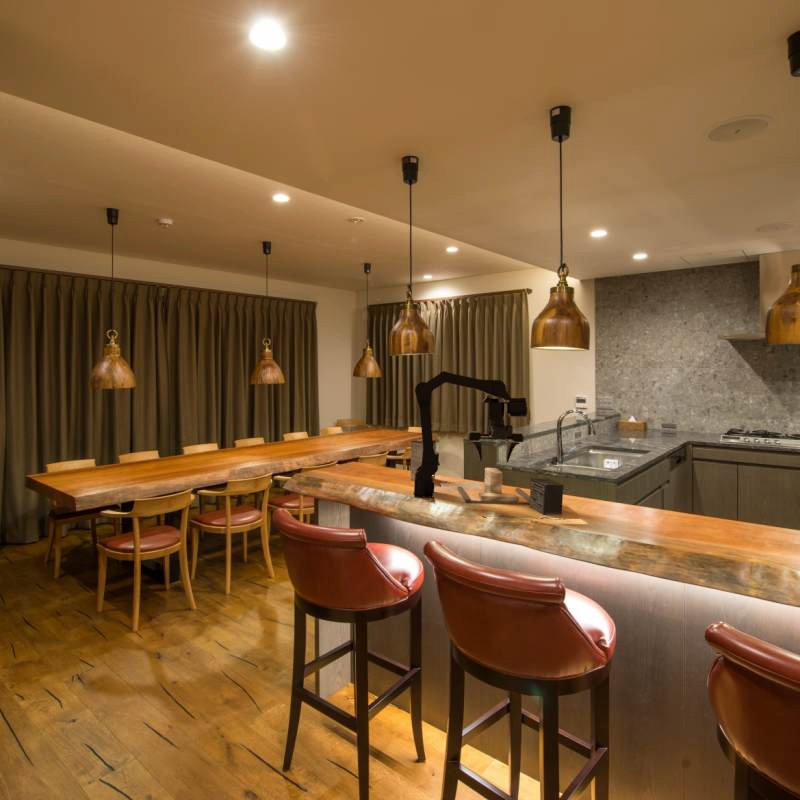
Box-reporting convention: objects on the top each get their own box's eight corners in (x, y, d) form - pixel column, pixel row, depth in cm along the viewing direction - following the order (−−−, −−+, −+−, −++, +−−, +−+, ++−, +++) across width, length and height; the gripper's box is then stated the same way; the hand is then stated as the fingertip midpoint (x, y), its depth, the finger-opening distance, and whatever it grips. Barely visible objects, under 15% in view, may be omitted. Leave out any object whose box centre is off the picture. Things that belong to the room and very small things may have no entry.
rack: (466, 507, 166) (466, 499, 165) (457, 493, 187) (457, 486, 186) (535, 508, 166) (536, 501, 166) (519, 494, 187) (519, 488, 187)
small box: (563, 519, 154) (564, 484, 154) (542, 519, 153) (544, 484, 153) (547, 510, 164) (548, 477, 164) (528, 510, 163) (529, 477, 163)
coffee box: (422, 476, 218) (423, 438, 218) (435, 478, 214) (436, 440, 214) (409, 479, 211) (411, 440, 211) (422, 481, 207) (423, 441, 207)
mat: (443, 491, 189) (443, 490, 189) (439, 484, 203) (439, 482, 203) (487, 492, 189) (487, 491, 189) (480, 485, 203) (480, 484, 203)
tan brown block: (489, 502, 174) (490, 472, 174) (484, 495, 184) (485, 467, 184) (501, 502, 174) (502, 472, 174) (495, 496, 184) (496, 468, 184)
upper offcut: (481, 502, 167) (481, 496, 167) (478, 498, 172) (478, 492, 172) (518, 503, 168) (518, 496, 168) (514, 499, 173) (514, 493, 173)
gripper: (472, 417, 170) (471, 464, 171) (528, 418, 171) (527, 465, 171) (467, 415, 181) (465, 459, 182) (520, 416, 182) (518, 460, 183)
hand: (493, 461), depth 179 cm, fingers open, 9 cm apart
